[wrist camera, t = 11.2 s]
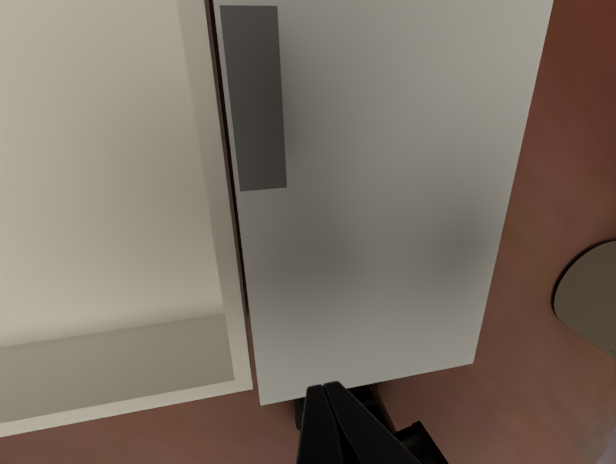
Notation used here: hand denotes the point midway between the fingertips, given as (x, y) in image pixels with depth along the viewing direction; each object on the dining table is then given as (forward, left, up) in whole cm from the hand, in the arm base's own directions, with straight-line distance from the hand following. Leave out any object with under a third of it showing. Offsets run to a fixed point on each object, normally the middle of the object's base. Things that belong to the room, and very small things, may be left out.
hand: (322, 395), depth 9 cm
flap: (+3, -4, -6) cm, 8 cm away
